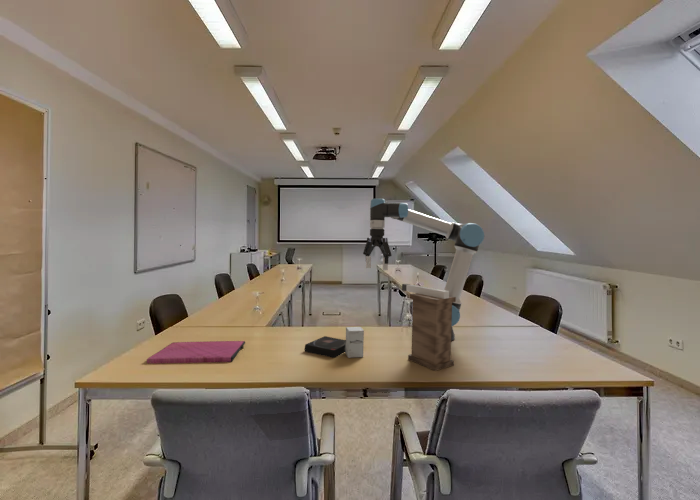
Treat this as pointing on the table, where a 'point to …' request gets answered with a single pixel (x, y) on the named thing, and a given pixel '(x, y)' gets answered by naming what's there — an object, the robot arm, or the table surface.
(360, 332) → the supplement box
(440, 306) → the stand
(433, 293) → the white long bar
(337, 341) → the portable cd player
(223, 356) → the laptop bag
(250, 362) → the table surface
